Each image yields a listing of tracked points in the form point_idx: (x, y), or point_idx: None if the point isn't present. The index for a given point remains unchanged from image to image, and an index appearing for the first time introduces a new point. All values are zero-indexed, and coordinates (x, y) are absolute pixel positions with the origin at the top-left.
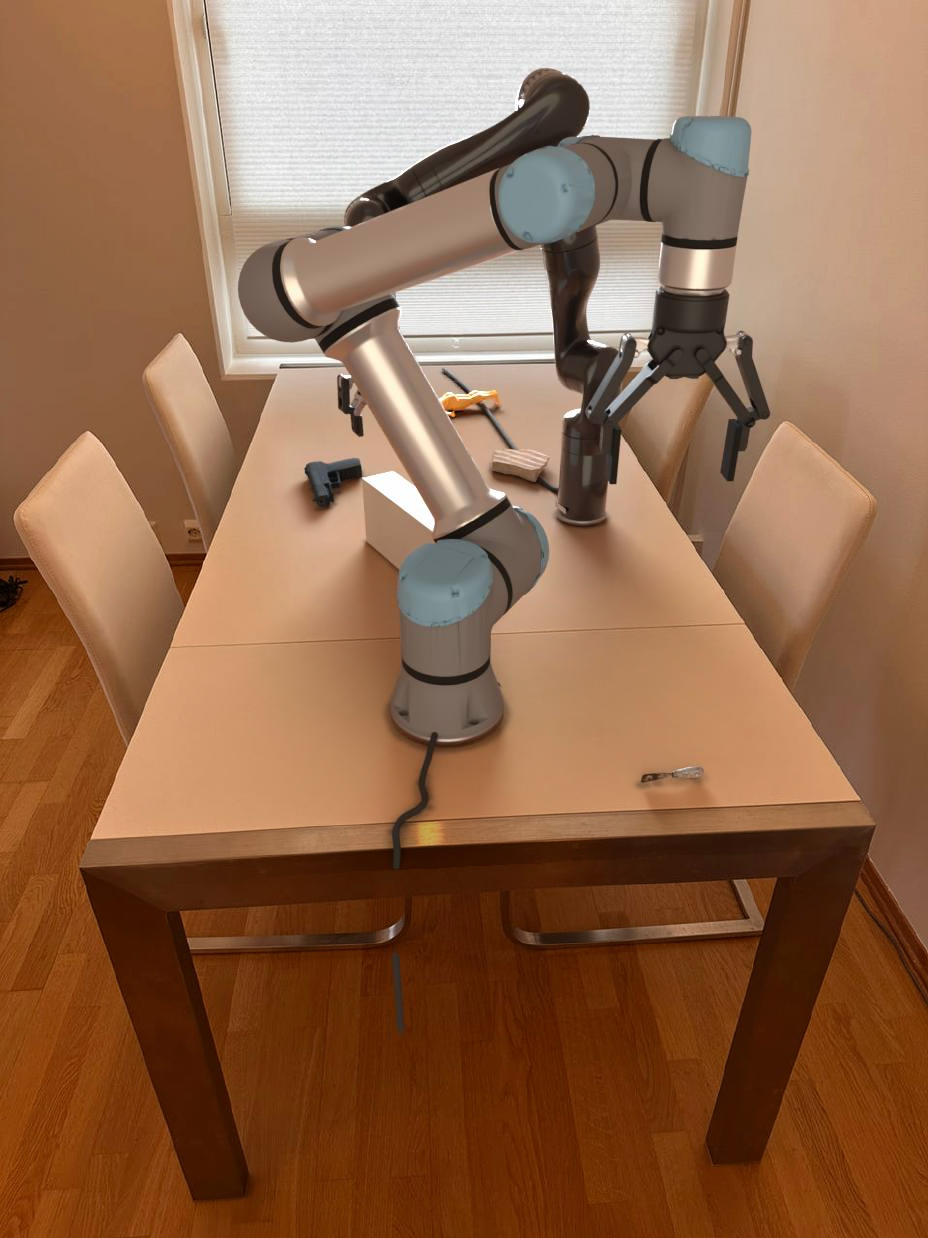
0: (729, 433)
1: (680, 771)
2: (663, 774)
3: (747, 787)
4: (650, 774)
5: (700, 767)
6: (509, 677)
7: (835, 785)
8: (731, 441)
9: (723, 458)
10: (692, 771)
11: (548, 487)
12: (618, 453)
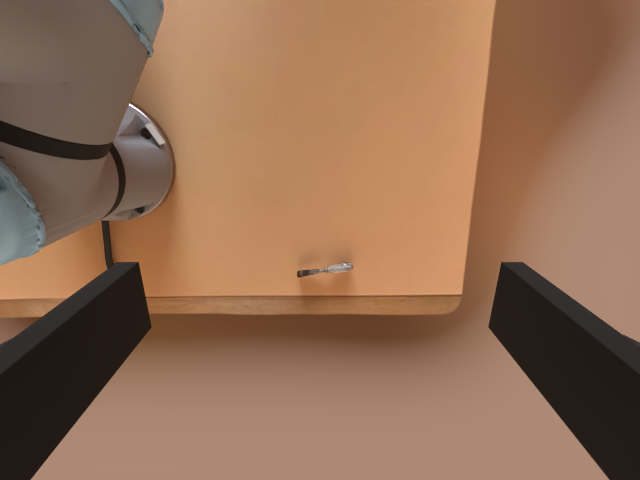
0: (608, 396)
1: (331, 272)
2: (316, 272)
3: (386, 277)
4: (304, 275)
5: (350, 267)
6: (179, 96)
7: (459, 278)
8: (578, 412)
9: (529, 296)
10: (342, 271)
11: None
12: (86, 404)
